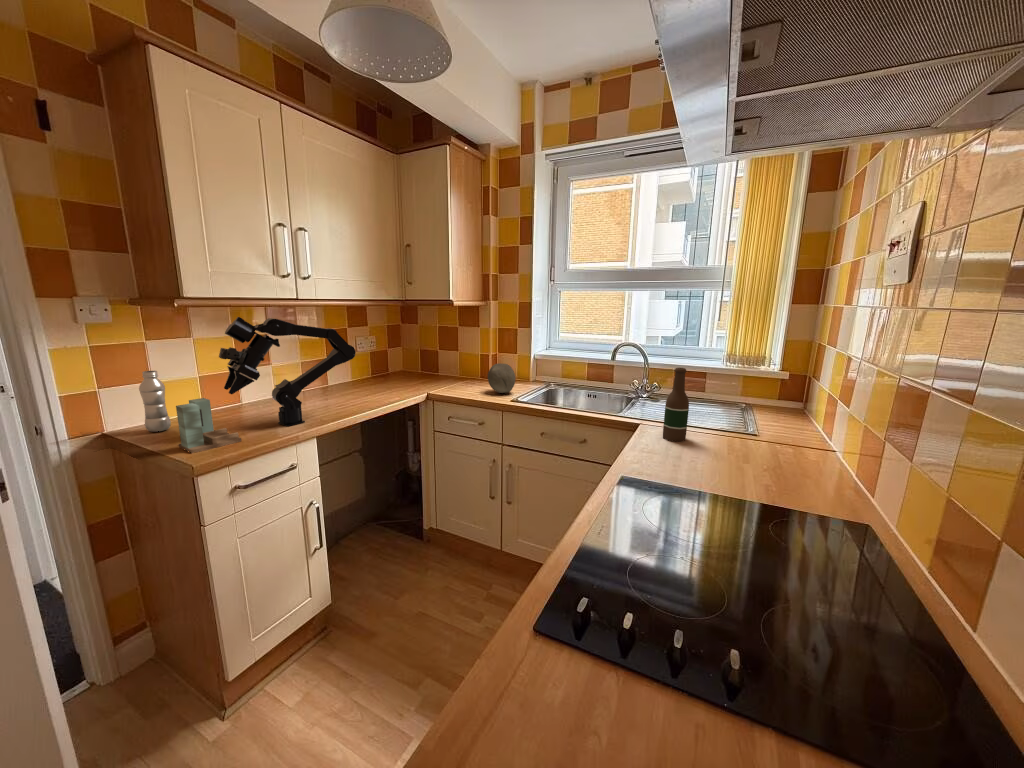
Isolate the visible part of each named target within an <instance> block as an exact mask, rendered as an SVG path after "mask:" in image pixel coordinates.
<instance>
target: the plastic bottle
mask: <svg viewBox="0 0 1024 768" xmlns="http://www.w3.org/2000/svg"><path fill="white" fill-rule="evenodd" d="M158 377H159V375H158V371H157V370H145V371H142V379H143V380H142V382H141V383H140V384H139V386H138V391H139V393H140V396H141V398H142V404H143V407H144V427H145V429H146V430H147V431H148V432H152V433H153V432H157V433H158V431H159V432H163V431H166V430H169V429H170V427H171V418H170V416H169V413H168V411H167V410H168V409H167V406H166V386H165V384H164V383H163V382H162V380H160V379H159V378H158Z"/></svg>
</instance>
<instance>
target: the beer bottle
mask: <svg viewBox="0 0 1024 768" xmlns="http://www.w3.org/2000/svg"><path fill="white" fill-rule="evenodd" d="M674 372H675V373H674V380H673V386H672V390H671V392H670V393H669V394H668V396H667V398H666V401H665V405H664V417H663V428H662V438H663V439H665V440H666V441H669V442H677V443H682V442H685V441H686V437H687V431H688V430H687V429H688V421H689V420H688V419H689V412H690V411H689V410H690V401H689V397H688V395H687V393H686V373H687V368H685V367H675V369H674Z"/></svg>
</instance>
